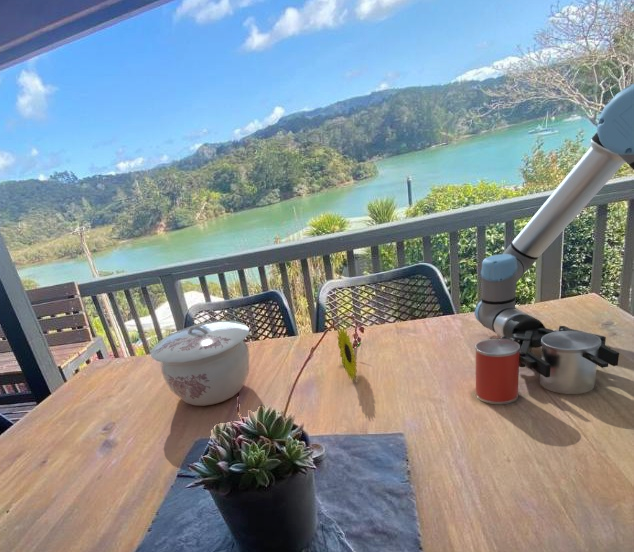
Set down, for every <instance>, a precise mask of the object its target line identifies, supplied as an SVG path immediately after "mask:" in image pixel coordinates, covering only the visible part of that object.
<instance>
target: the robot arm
mask: <svg viewBox="0 0 634 552" xmlns="http://www.w3.org/2000/svg"><path fill="white" fill-rule="evenodd" d="M596 128H597V129H596V133H595V134H594V135H593V136H592V137H591V139H590V147H589V148H588V150H587V151H586V152H585V153H584V154H583V156H582V157H581V158H580V160H578V162H577V163H576V164H575V165H574V167H573V168H572V169H570V172H569V173H568V174H567V175H566V177H565V178H563V180H562V181H561V182H560V184H559V185H558V186H557V187H556V188H555V189H554V191H553V192H552V193H551V195H549V197H548V198H547V199H546V201H545V202H544V203H543V204H542V205H541V206H540V208H539V209H538V210H537V211H536V212H535V214H534V215H533V216H532V217H531V219H530V220H529V221H528V222H527V223H526V224H525V226H524V227H523V228H522V230H521V231H520V232H519V233H518V235H516V237H515V238H514V239H513V240H512V242H511V243H510V244H509V245H508V246H507V248H506V249H505V250H504V251H503V252H502V253H499V254H493V255H490V256H487V257H485V258H484V259H483V260H482V262H481V270H480V276H481V300H480V301H479V302H478V304H477V305H476V307H475V309H474V316H475V319H476V320H477V321H478V322H479V323H480V324H481V325H482V326H483V327H484V328H486V329H488V330H490V331H492V332H493V333H495V334H496V335H498V336H499V337H501V338H500V339H508V340H512V341H515V342H517V343H518V344H519V345H520V352H519V368H525V367H526V368H528V369H533V370H534V371H535V372H537V373H539V374H541V375H543V376H544V377H546V378H547V377H550V368H551V365H550V364H549V363H547V362H546V361H544V360H542V359H541V358H542V357H539V356H538V355H536V354H535V353H533V352H531V350H532V348H534V349H538V348H542V344H541V338H542V337H543V336H544V335H546V334H549V333H552V332H557V331H579V330H578V329H573V328H570V327H568V326H565V325H559V326H558V329H555V330H553V329H551V328H547V327H546V326H545V325H544V323H543V322H542V321H541V320H539V319H537V318H536V317H534V316H532V315H530V314H528V313H527V312H525V311H522V310H520V309H519V308H516V299H517V283H518V282H519V281H520V279H522V277H523V276H524V274H526V273H527V271H529V269H530V268H531V267H532V266H533V264H535V262H537V260H538V259H539V258H540V256H542V255H543V253H544V252H545V251H547V249H548V248H549V247H550V245H551V244H553V243H554V241H555V240H556V239H557V238H558V237H559V236H560V235H561V234H562V232H563V231H564V230H565V229H566V228H567V227H568V226H569V225H570V223H572V222H573V220H574V219H576V217H577V216H578V215H579V214H580V213H581V212H582V211H583V210H584V208H586V206H587V205H588V204H589V203H590V201H592V199H593V198H594V197H596V195H597V194H598V193H599V192H600V191H601V189H603V187H604V186H605V185H606V184H607V183H608V182H609V181H610V180H611V179H612V178H613V177H614V175H615V174H617V172H618V171H619V170H620V169H621V168H622V166H623V165H624V164H627V165H628V166H629V167H630V168H631V169H632V170H633V171H634V83H632V84H629V85H627V86H626V87H624V88H623V89H622V90H621V91H619V92H617V93H616V94H615V95H614V97H612V99H610V100H609V101H608V102H607V104H606V105H605V106H604V107H603V109H602V111H601V113H600V115H599V118H598V121H597V127H596ZM580 331H581V332H584V331H582V330H580ZM593 334H594V335H596V336H598V337H599V338H600V339H601V346H600V347H599V351H598V358H599V359H601V360H603V361H605V362H607V363H608V365H610V366H612V367H618V365H619V359H620V358H619V357H620V352H618V351H616V350H614V349H612V348H611V347H610V346H608V345H606V340H607V337H606V336H605V335H600V334H596V333H593Z"/></svg>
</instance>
